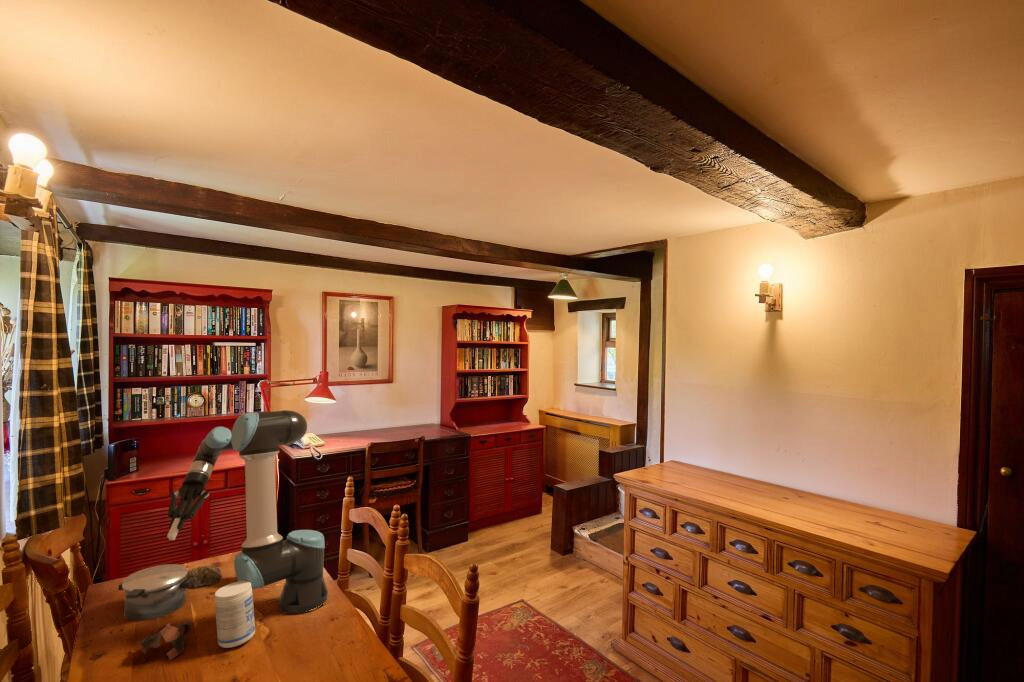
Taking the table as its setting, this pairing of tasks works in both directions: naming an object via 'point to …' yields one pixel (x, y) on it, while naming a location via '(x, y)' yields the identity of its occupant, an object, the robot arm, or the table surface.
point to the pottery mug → (168, 638)
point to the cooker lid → (153, 579)
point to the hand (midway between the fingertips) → (170, 538)
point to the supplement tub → (234, 614)
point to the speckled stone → (204, 576)
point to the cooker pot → (156, 601)
